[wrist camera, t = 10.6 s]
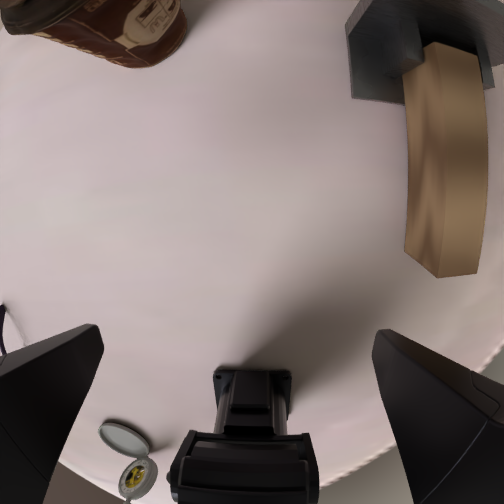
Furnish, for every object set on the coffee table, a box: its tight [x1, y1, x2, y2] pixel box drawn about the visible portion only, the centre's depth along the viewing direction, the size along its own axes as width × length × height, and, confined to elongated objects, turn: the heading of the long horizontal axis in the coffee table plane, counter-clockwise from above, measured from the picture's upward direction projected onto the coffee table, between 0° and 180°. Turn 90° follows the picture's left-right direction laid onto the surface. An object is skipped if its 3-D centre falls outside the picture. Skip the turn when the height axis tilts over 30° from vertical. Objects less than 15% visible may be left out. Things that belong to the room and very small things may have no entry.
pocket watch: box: [98, 423, 158, 504], centre depth 23 cm, size 8×8×10 cm
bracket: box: [345, 0, 504, 106], centre depth 11 cm, size 6×12×9 cm, turn 91°
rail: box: [402, 42, 488, 278], centre depth 15 cm, size 14×4×5 cm, turn 4°
